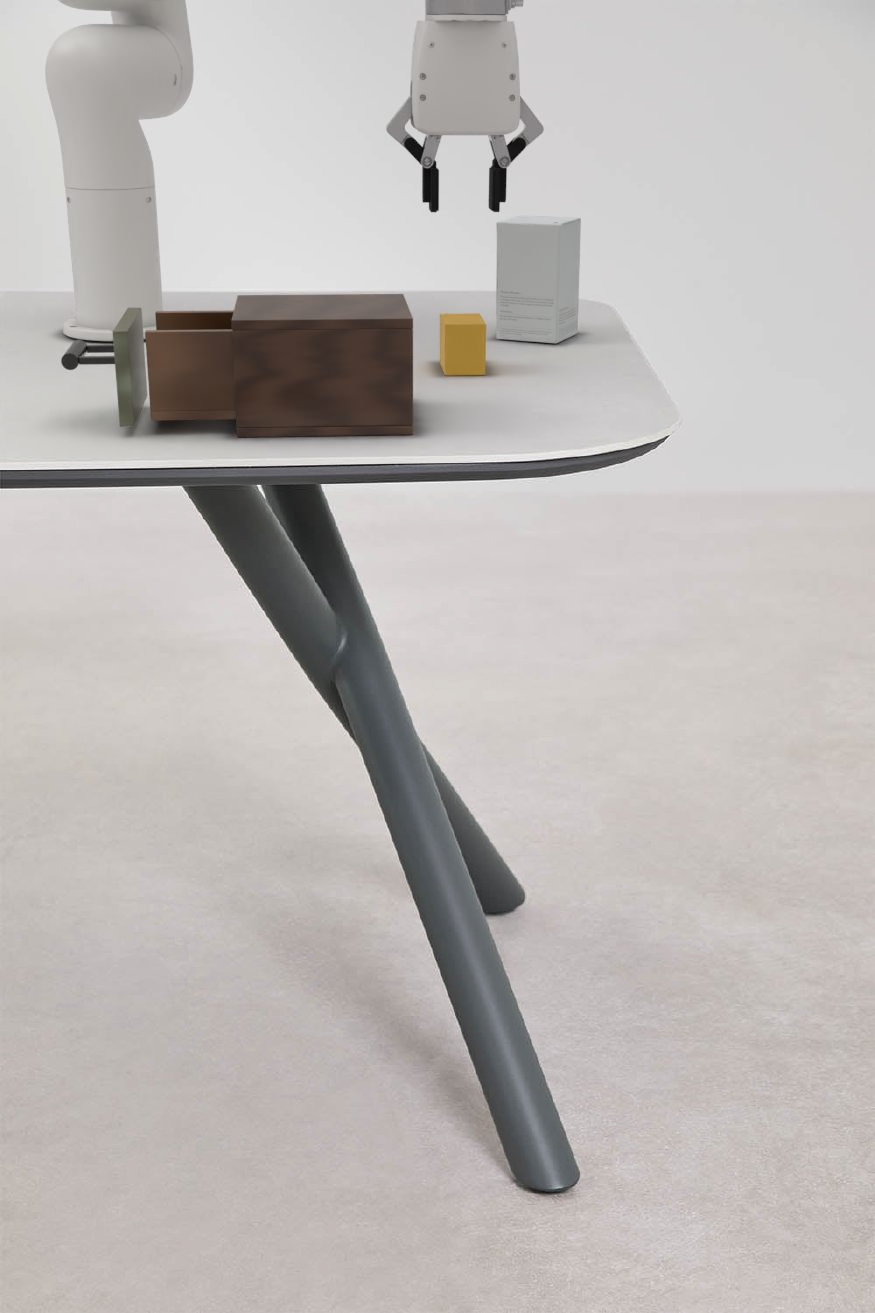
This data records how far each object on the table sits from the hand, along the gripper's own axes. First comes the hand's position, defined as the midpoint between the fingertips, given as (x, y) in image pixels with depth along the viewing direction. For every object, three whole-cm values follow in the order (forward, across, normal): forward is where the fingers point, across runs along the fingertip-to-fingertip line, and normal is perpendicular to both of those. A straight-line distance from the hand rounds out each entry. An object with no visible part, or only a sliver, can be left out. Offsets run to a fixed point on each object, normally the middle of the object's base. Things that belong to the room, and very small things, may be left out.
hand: (463, 208), depth 144 cm
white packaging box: (+16, -10, -17) cm, 25 cm away
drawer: (+15, +26, +20) cm, 36 cm away
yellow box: (+15, 0, 0) cm, 15 cm away
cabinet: (+15, +14, +20) cm, 29 cm away
